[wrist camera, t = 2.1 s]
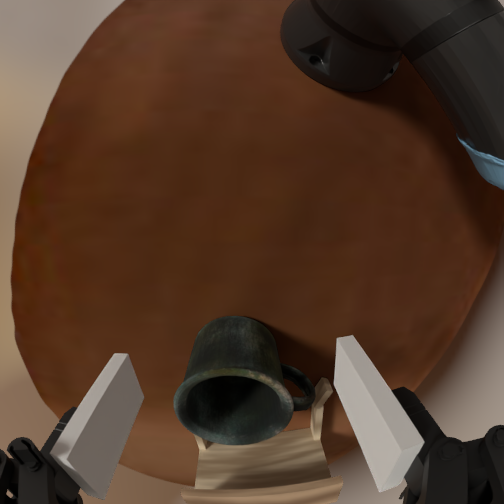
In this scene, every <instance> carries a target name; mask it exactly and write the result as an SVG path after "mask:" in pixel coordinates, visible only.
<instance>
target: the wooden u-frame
mask: <svg viewBox="0 0 504 504" xmlns="http://www.w3.org/2000/svg"><path fill="white" fill-rule="evenodd" d="M315 392H316V397H315V400H314V402H313V404H312V412H311V428H306V429H300V430H293V431H285V432H280V433H279V434H277V435H275V436H274V437H272V438H270V439H268V440H265V441H262V442H259V443H255V444H250V445H223V444H218V443H214V442H211V441H207V440H205V439H203V438H200V437H198V436H197V435H195V434H194V436H195V439H196V441H197V444H198V446H199V449H200V451H199V459H198V466H197V474H196V482H195V489H190V488H182V491H181V496H182V498H183V499H184V500H185V501H186V503H187V504H328V503H332V502H336V501H337V499H338V496H339V494H340V491H341V488H342V485H343V480H342V477H341V476H337V477H332V478H331V475H330V471H329V468H328V464H327V461H326V457H325V454H324V451H323V447H322V444H321V440H320V437H321V428H322V418H323V404H324V403H325V402H326V400H327V399H328V398H329V396H330V395H331V394H332V392H333V390H332V388H331V385H330V383H329V380H328V378H324V377H322V378H321V379H320V381H319V382H318V384H317V385H316V387H315Z"/></svg>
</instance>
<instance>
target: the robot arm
mask: <svg viewBox="0 0 504 504" xmlns="http://www.w3.org/2000/svg"><path fill="white" fill-rule="evenodd" d="M280 35H281V41H282V44H283V47H284V49H285V51H286V53H287V54H288V56H289V57H290V59H291V60H292V61H293V63H294V64H295V65H296V66H297V67H298V68H299V69H300V70H302V71H303V72H304V73H305V74H307V75H308V76H309V77H311V78H312V79H314V80H316V81H318V82H319V83H321V84H323V85H326V86H328V87H331V88H334V89H337V90H342V91H348V92H363V91H368V90H371V89H374V88H376V87H378V86H380V85H381V84H383V83H384V82H386V81H387V80H388V79H389V78H390V77H391V76H392V75H393V74H394V73H395V71H396V69H397V67H398V65H399V62H400V60H401V58H402V55H403V54H404V55H405V56H406V57H407V59H408V60H409V61H410V63H411V64H412V65H413V66H414V68H415V69H416V70H417V72H418V73H419V74H420V76H421V77H422V78H423V80H424V81H425V83H426V84H427V85H428V87H429V88H430V90H431V91H432V93H433V94H434V96H435V97H436V99H437V100H438V102H439V103H440V105H441V107H442V108H443V110H444V111H445V113H446V115H447V116H448V118H449V120H450V121H451V123H452V125H453V127H454V128H455V130H456V135H457V138H458V140H459V141H460V143H461V144H462V145H463V146H464V147H465V149H466V150H467V152H468V154H469V156H470V158H471V160H472V161H473V163H474V165H475V167H476V169H477V171H478V172H479V173H480V175H481V176H482V177H483V178H484V179H485V180H486V181H488V182H489V183H491V184H492V185H495V186H498V187H499V188H500V189H502V190H504V7H503V6H502V5H501V3H500V2H499V1H498V0H295V1H293V2H292V3H291V4H290V5H289V7H288V8H287V10H286V11H285V14H284V16H283V20H282V24H281V29H280ZM417 58H418V59H417ZM334 386H335V388H336V391H337V393H338V395H339V398H340V400H341V402H342V404H343V407H344V409H345V411H346V414H347V416H348V418H349V421H350V423H351V425H352V428H353V430H354V432H355V435H356V437H357V439H358V442H359V444H360V446H361V449H362V451H363V454H364V456H365V458H366V461H367V463H368V466H369V468H370V470H371V473H372V475H373V478H374V480H375V483H376V485H377V487H378V490H379V492H382V491H385V490H387V489H390V488H393V487H395V486H398V485H400V483H401V482H402V480H403V479H404V478H405V480H406V482H407V484H408V485H407V487H406V488H405V489H404V491H403V492H402V493H401V495H400V497H399V499H402V498H403V497H404V500H403V504H504V425H498V426H494V427H492V428H491V429H489V431H488V432H487V433H486V435H485V437H483V438H480V439H476V440H472V441H468V442H462V441H461V440H458V439H456V438H452V437H446V435H445V434H444V433H443V432H442V430H441V429H440V427H439V426H438V425H437V423H436V422H435V421H434V419H433V418H432V417H431V415H430V414H429V413H428V411H427V410H425V407H424V406H423V404H422V403H420V400H419V399H418V398H417V396H416V395H415V394H414V393H413V392H412V391H410V390H408V389H407V388H405V387H400V388H397V389H394V390H390V388H389V387H388V385H387V384H386V382H385V381H384V379H383V378H382V376H381V375H380V374H379V372H378V371H377V369H376V368H375V366H374V365H373V363H372V362H371V361H370V359H369V358H368V356H367V355H366V353H365V352H364V350H363V349H362V348H361V346H360V345H359V343H358V342H357V341H356V339H355V338H354V336H353V335H351V336H346V337H340V338H337V345H336V361H335V375H334ZM143 399H144V395H143V393H142V390H141V388H140V385H139V383H138V380H137V377H136V375H135V372H134V369H133V366H132V364H131V361H130V358H129V355H128V354H117V353H114V355H113V356H112V358H111V359H110V361H109V362H108V363H107V365H106V366H105V368H104V369H103V371H102V372H101V374H100V375H99V377H98V378H97V379H96V381H95V382H94V384H93V385H92V387H91V388H90V390H89V391H88V393H87V394H86V396H85V397H84V399H83V400H82V402H81V404H80V405H79V407H78V408H76V407H72V408H71V409H70V410H68V411H67V412H66V413H64V415H63V416H62V418H61V419H60V421H59V423H58V424H57V426H56V427H55V430H53V432H52V434H51V435H50V436H49V438H48V440H47V441H46V443H45V444H44V446H43V447H42V449H41V451H39V450H38V449H37V447H36V446H35V445H34V443H33V442H32V441H31V440H30V439H28V438H24V437H20V438H16V439H15V440H13V441H12V442H11V443H10V444H9V446H8V448H7V451H8V452H9V453H10V455H11V456H12V457H13V458H14V459H12V458H9V457H8V456H7V455H6V454H5V452H4V451H3V450H1V449H0V504H83V500H82V498H81V496H80V495H79V494H78V492H79V490H80V488H81V489H82V490H83V491H84V492H85V493H86V494H87V495H90V496H93V497H96V498H99V499H102V500H105V497H106V494H107V491H108V488H109V486H110V483H111V480H112V477H113V474H114V472H115V469H116V467H117V464H118V461H119V459H120V456H121V454H122V451H123V448H124V446H125V443H126V441H127V438H128V436H129V433H130V431H131V428H132V426H133V423H134V421H135V418H136V416H137V414H138V411H139V409H140V406H141V404H142V402H143ZM7 489H8V490H9V491H10V492H11V493H12V494H13V497H12V498H10V497H8V496H7V495H6V493H7Z"/></svg>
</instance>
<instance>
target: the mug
mask: <svg viewBox="0 0 504 504" xmlns="http://www.w3.org/2000/svg"><path fill="white" fill-rule="evenodd" d="M283 378H285V379H288V380H290V381H292V382H293V383H294V384H296V385H297V386H298V387H299V389H300V390H301V391H302V392H303V394H304V396H305V397H291V395H290V393H289V392H288V390H287V389H286V388H285V384H284V379H283ZM315 397H316V392H315V388H314V386H313V384H312V383H311V381H310V380H309V379H308V378H307V377H306V375H305V374H304V373H302V372H301V371H300V370H298V369H296V368H294V367H292V366H289V365H286V364H283V363H280V360H279V356H278V351H277V346H276V342H275V339H274V337H273V335H272V334H271V332H270V331H269V330H268V329H267V328H266V327H265V326H263V325H262V324H261V323H259V322H257V321H255V320H253V319H250V318H246V317H241V316H227V317H222V318H218V319H215V320H213V321H211V322H209V323H208V324H206V325H205V326H204V327H203V328H202V329H201V330H200V332H199V333H198V335H197V337H196V339H195V343H194V346H193V350H192V353H191V357H190V360H189V364H188V367H187V371H186V374H185V378H184V382H183V383H182V384H181V385H180V387H179V388H178V389H177V391H176V393H175V396H174V410H175V413H176V415H177V417H178V419H179V421H180V422H181V423H182V425H183V426H184V427H186V428H187V429H188V430H189V431H190V432H192V433H193V434H195V435H197V436H198V437H200V438H203V439H205V440H207V441H211V442H214V443H218V444H223V445H250V444H255V443H259V442H262V441H265V440H268V439H270V438H272V437H274V436H275V435H277V434H279V433H280V432H281V431H282V430H283V429H284V428H285V427H286V426H287V425H288V424H289V422H290V420H291V418H292V415H293V411H302V410H307V409H308V408H309V407H310V406H311V405H312V404H313V402H314V400H315Z"/></svg>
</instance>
